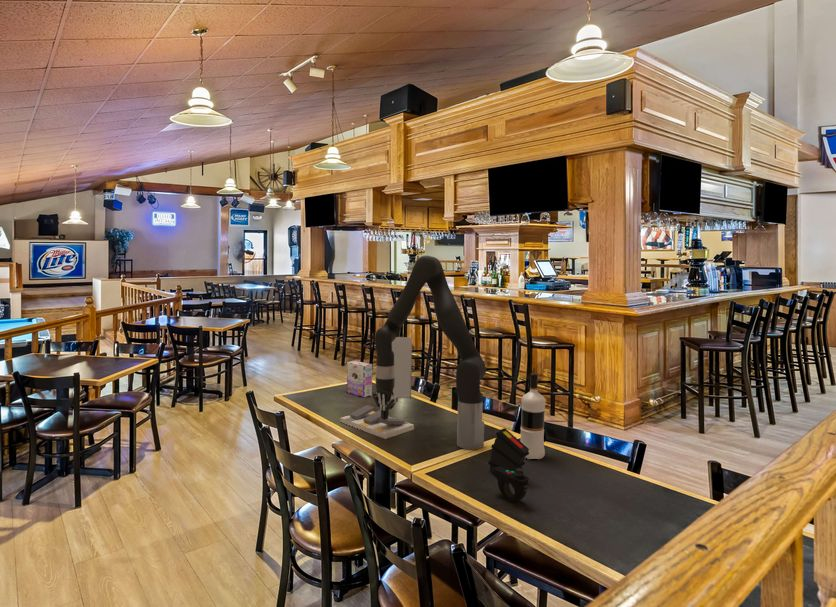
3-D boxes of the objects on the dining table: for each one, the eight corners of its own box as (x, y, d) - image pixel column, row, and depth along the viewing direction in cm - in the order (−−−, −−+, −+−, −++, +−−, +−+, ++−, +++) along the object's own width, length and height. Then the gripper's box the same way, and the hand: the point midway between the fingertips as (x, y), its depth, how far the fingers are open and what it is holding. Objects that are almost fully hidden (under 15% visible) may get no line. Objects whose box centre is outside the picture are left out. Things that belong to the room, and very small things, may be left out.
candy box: (372, 395, 262) (372, 364, 261) (363, 398, 258) (363, 365, 257) (355, 390, 272) (355, 360, 270) (346, 392, 267) (346, 361, 266)
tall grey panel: (411, 395, 264) (411, 337, 261) (409, 398, 258) (410, 339, 256) (383, 394, 265) (384, 336, 263) (381, 397, 260) (382, 338, 257)
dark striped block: (487, 461, 176) (504, 427, 170) (516, 488, 168) (535, 453, 162) (481, 464, 173) (497, 429, 168) (509, 492, 166) (528, 456, 160)
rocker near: (404, 424, 211) (404, 421, 212) (387, 424, 204) (387, 421, 204) (395, 421, 215) (396, 418, 215) (378, 421, 208) (379, 418, 208)
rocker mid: (389, 414, 217) (388, 411, 217) (371, 424, 210) (371, 421, 210) (381, 411, 221) (380, 409, 220) (363, 421, 214) (363, 418, 214)
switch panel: (413, 429, 212) (414, 423, 212) (385, 438, 201) (385, 432, 200) (368, 414, 231) (368, 408, 231) (340, 422, 220) (340, 416, 219)
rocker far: (374, 409, 223) (374, 407, 223) (357, 419, 217) (356, 416, 216) (367, 407, 227) (366, 404, 227) (349, 416, 220) (349, 414, 220)
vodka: (512, 453, 187) (515, 372, 185) (531, 449, 192) (534, 369, 190) (531, 462, 180) (534, 377, 177) (550, 457, 185) (553, 374, 182)
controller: (520, 508, 146) (522, 474, 145) (488, 492, 156) (489, 460, 155) (530, 504, 149) (531, 470, 148) (498, 489, 159) (499, 457, 158)
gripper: (403, 377, 203) (402, 420, 205) (380, 372, 212) (380, 413, 214) (389, 380, 198) (389, 424, 199) (367, 374, 207) (366, 417, 208)
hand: (384, 418), depth 207 cm, fingers closed
